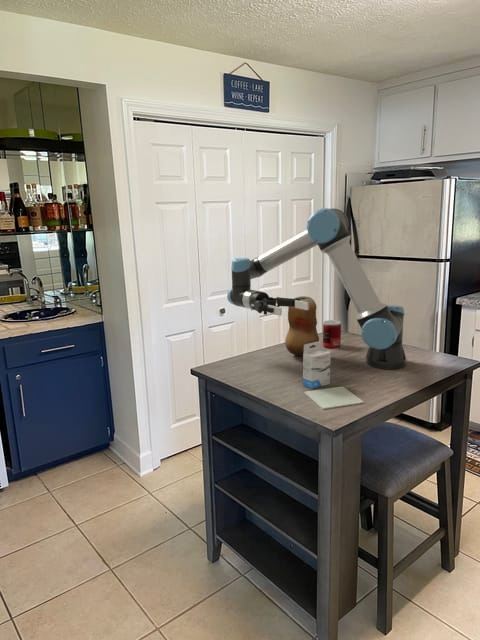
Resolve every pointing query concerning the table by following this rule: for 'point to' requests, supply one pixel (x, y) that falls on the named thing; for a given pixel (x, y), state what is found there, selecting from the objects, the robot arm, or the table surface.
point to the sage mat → (333, 397)
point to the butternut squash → (301, 327)
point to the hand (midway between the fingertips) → (294, 309)
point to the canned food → (331, 334)
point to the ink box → (316, 366)
